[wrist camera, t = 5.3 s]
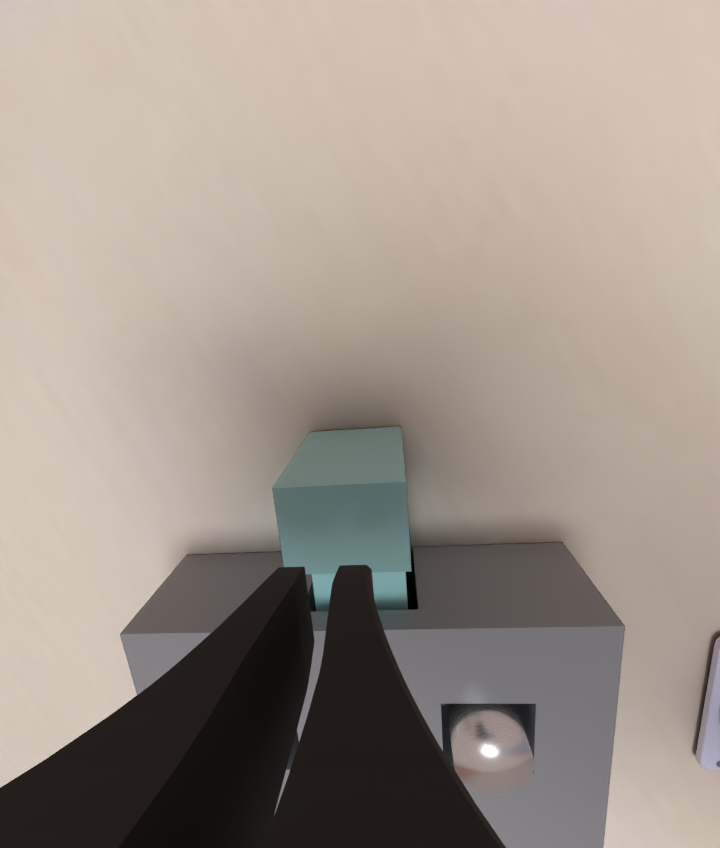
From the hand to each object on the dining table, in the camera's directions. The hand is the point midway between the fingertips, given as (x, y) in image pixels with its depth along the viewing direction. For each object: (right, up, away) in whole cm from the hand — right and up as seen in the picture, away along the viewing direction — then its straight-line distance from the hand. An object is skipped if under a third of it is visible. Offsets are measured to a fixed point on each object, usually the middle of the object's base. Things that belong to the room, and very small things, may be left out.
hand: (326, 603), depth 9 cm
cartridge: (+1, -3, +10) cm, 11 cm away
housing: (+2, -8, +12) cm, 14 cm away
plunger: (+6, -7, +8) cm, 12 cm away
